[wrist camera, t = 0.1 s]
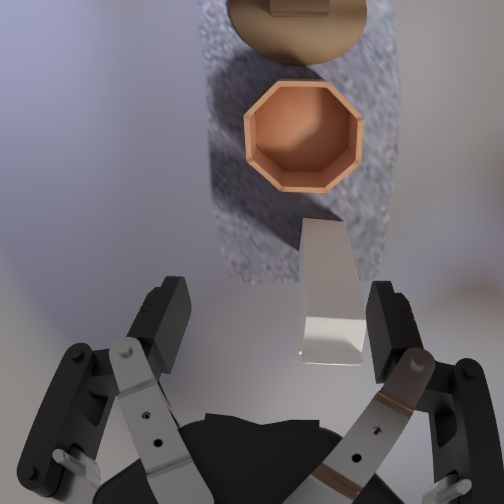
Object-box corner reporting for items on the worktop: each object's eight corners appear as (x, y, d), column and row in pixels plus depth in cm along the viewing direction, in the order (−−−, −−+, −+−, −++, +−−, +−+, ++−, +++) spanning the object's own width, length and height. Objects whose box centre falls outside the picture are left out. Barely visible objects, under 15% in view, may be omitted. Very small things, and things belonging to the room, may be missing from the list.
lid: (227, -44, 24) (216, -59, 19) (360, -43, 22) (371, -58, 17) (234, 66, 33) (224, 68, 28) (366, 69, 31) (379, 71, 26)
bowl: (248, 79, 33) (241, 82, 28) (353, 81, 32) (364, 84, 27) (253, 173, 40) (248, 191, 36) (349, 175, 39) (357, 194, 34)
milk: (302, 217, 43) (305, 341, 25) (344, 221, 43) (373, 344, 25) (298, 252, 47) (296, 379, 29) (337, 256, 46) (354, 381, 28)
